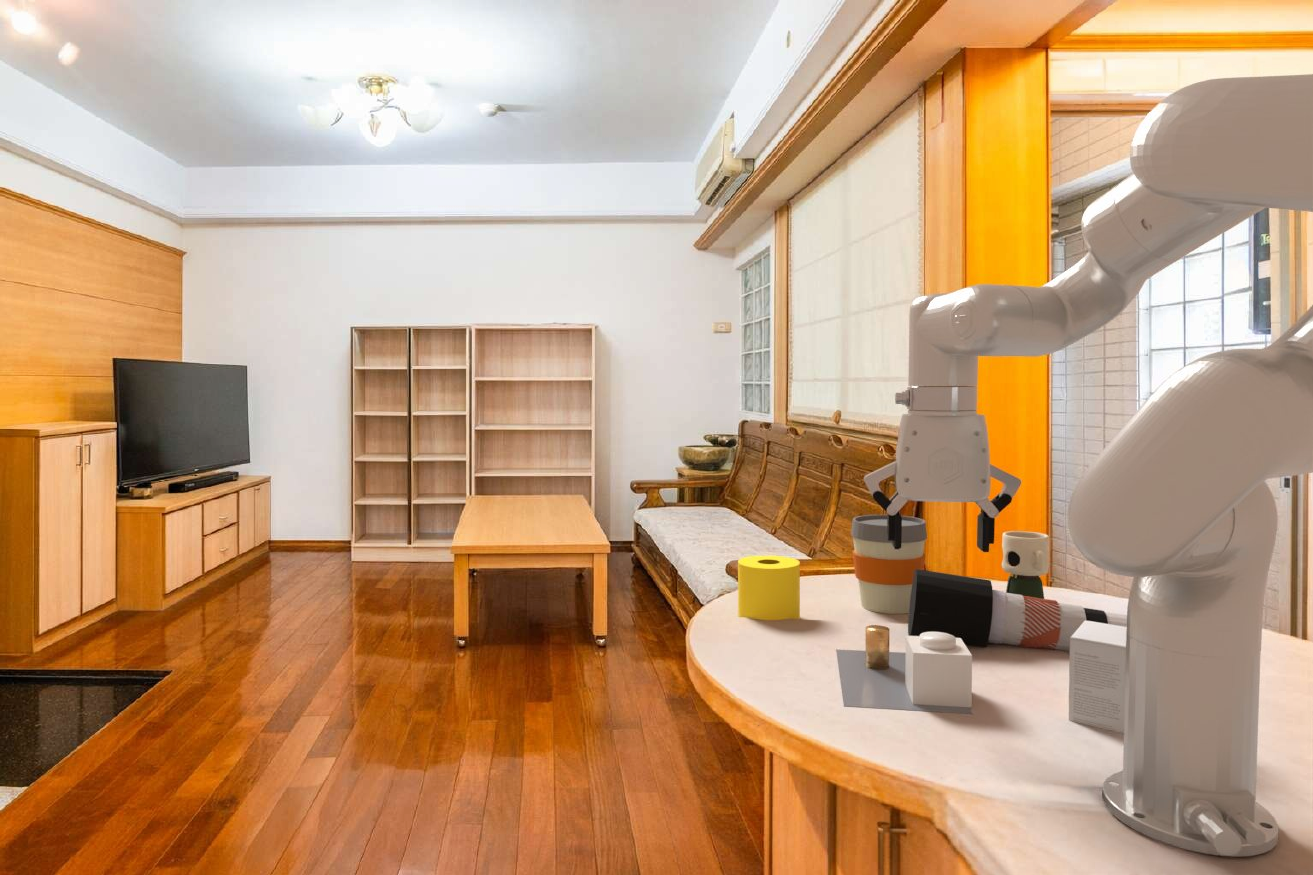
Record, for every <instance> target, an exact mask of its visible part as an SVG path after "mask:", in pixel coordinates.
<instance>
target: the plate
mask: <svg viewBox="0 0 1313 875" xmlns="http://www.w3.org/2000/svg"><path fill="white" fill-rule="evenodd" d="M835 652H836V660H837V667H838V672H839V674H838V675H839V680H840V687H841V688H840V689H841V694H842V695H841V696H842V702H843V703H842V704H843V707H845V708H846V707H847V708H863V709H881V710H896V711H915V712H928V713H929V712H931V713H945V714H963V715H967V714H968V715H974V713H973V711H972V709H971V707H955V706H938V705H921V704H913V703H912V701H911V698H910V695H909V692H908V690H907V687H906V684H905V666H906V652H902V651H900V652H899V651H889V668H888V669H886V670H873V669H870V668H867V667H866V666H865V650H857V649H856V650H855V649H854V650H853V649H835Z"/></svg>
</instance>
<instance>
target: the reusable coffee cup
mask: <svg viewBox="0 0 1313 875" xmlns="http://www.w3.org/2000/svg"><path fill="white" fill-rule="evenodd" d="M901 516H902V539H901V548H900V549H894V547H893V544H892V541H888V540H887V514H865V515H860V516H854V517H853V518H852V523H851V532H850V536H851V537H852V540H853V548H854V549H853V550H852V559H853V566H854V576H855V578H856V579H857V580H858V588H859V589H858V590H859V596H860V601H861V602H860V603H861V604H860V605H861V607H862V608H863V607H864V608H863V609H865V608H866V609H865V610H867V609H868V610H867V611H870V612H875V613H879V614H888V615H890V614H891V615H893V614H894V615H898V614H899V615H900V614H901V615H902V614H909V607H910V597H911V590H912V583H913V577H914V572H915V570H916V569H919V570H925V569H924V566H925V560H926V553H925V552H924V549H925V543H926V540H927V539H928V533H927V532H928V531H927V524H926V520H925V519H922V518H919V517H915V516H907V515H901Z"/></svg>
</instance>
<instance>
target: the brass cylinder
mask: <svg viewBox="0 0 1313 875" xmlns="http://www.w3.org/2000/svg"><path fill="white" fill-rule="evenodd" d="M864 651H865V666H866V667H867V668H870V669H873V670H886V669H888V668H889V652H890V628H889V627H887V626H884V625H878V624H872V625H867V626H865V650H864Z"/></svg>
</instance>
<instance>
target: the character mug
mask: <svg viewBox="0 0 1313 875" xmlns="http://www.w3.org/2000/svg"><path fill="white" fill-rule="evenodd" d="M1001 537H1002V538H1001V541H1002V543H1001V547H1002V555H1003V557H1002V561H1001V567H1002V570H1003V571H1004V572H1006V573H1009V574H1010V575H1009V576H1008V578H1007V582H1006V584H1007V585H1006V591H1005V593H1011V594H1018V595H1022V596H1029V597H1035V598H1041V599H1045V594H1044V588H1043V587H1044V586H1043V580H1042V579H1041V576H1044V575H1047V574H1049V569H1050V535H1048V534H1046V533H1041V532H1035V531H1024V530H1022V531H1021V530H1011V531H1005V532H1003V533H1002V536H1001Z"/></svg>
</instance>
